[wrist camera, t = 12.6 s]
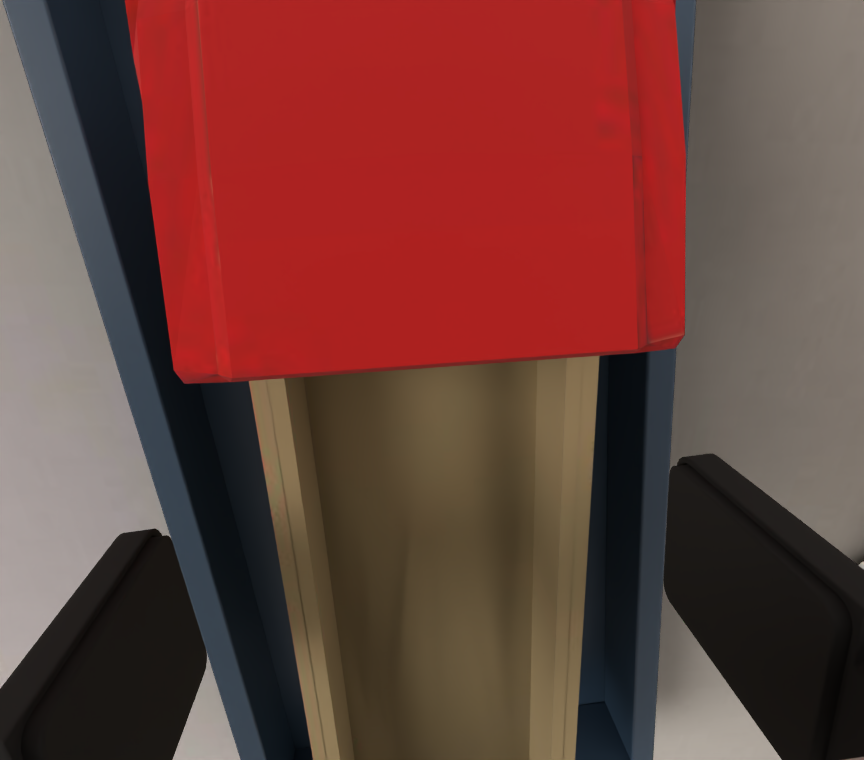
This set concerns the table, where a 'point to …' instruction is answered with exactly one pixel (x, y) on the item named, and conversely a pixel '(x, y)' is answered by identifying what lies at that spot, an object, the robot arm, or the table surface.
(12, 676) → the robot arm
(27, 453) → the table surface
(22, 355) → the table surface
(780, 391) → the table surface
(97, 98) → the toy tray
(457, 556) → the toy truck
